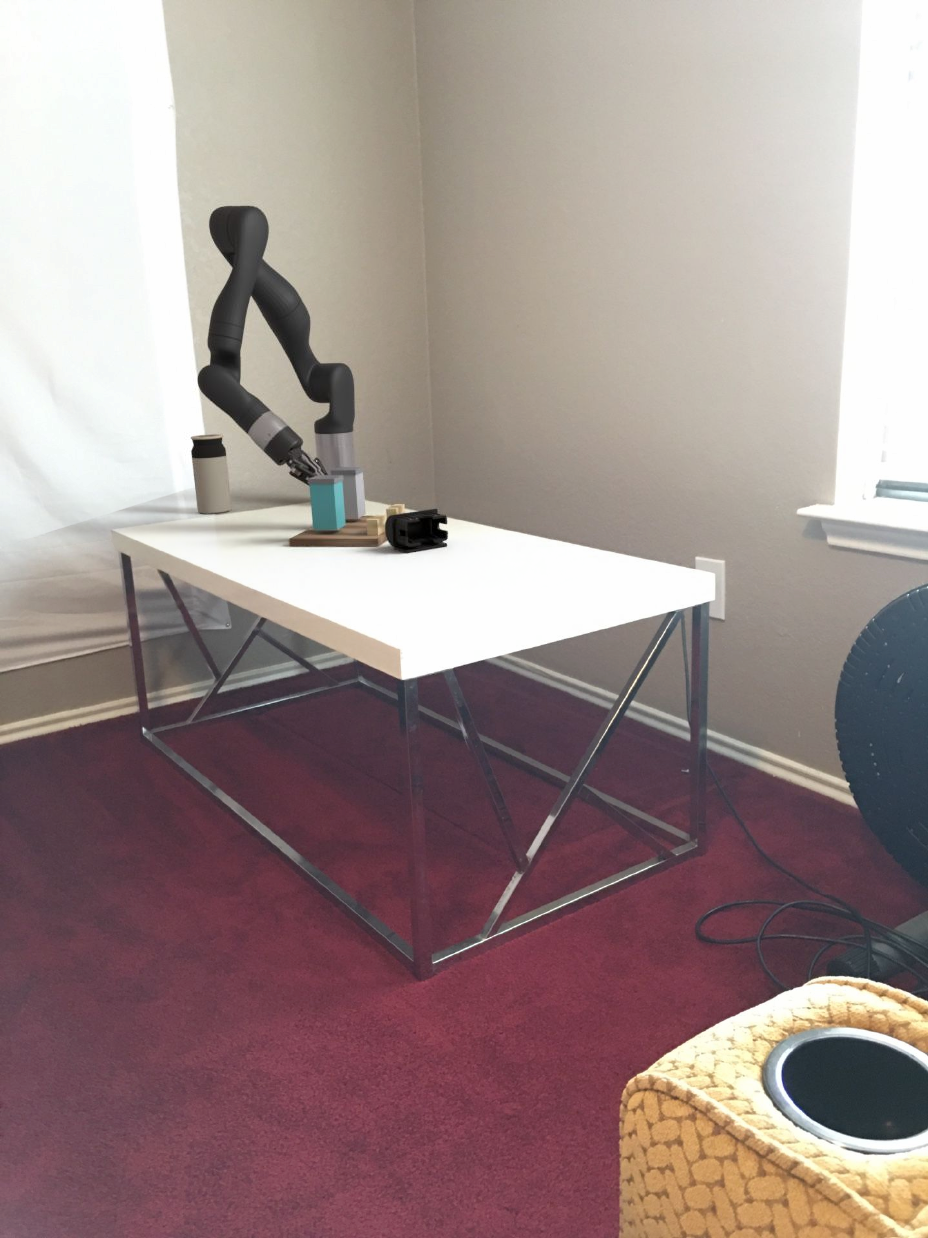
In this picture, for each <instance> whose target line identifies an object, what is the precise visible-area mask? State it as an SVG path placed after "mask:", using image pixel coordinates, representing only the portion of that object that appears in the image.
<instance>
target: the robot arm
mask: <svg viewBox="0 0 928 1238" xmlns="http://www.w3.org/2000/svg"><path fill="white" fill-rule="evenodd" d="M208 227H209V228H208V229H209V233H210V237H211V239H212V241H213V243H214V245H215V247H216V248H217V249H218V251H219V252H220V253H221V255H222V256H223V258H224V259H225V261H226V262H227V263H228V264H229V266H230V267H231V268H232V269H231V271H230V274H229V276H228V278H227V280H226V283H225V285H224V286H223V288H222V290H221V291H220V293H219V294H218V296H217V298H216V300H215V302H214V305H213V308H212V310H211V314H210V319H209V326H208V334H207V348H208V350H209V352H210V353H209V354H210V358H209V364H208V365H205V366H204V367H202V368H201V369H200V371H198V374H197V378H196V379H197V386H198V388H199V391H200V392H201V393H202V394H203V396H205V398H206V399H208V401H210V402H212V404H214V406H216V407H217V408H218V409H220V410H221V411H222V412H223V413H225V414H227V416H229V418H231V419H232V420H233V421H234V423H235V424H236V425H237V426H238V427H239V428H240V429H241V430H242V431H243V432H244V433H246V435H248V436H249V438H250V439H251V440H252V442H254V444H255V445H256V446H257V447H258V448H259V449H260V450H261V451H262V452H264V453H265V455H266V456H267V457H269V458H270V459H271V460H272V461H273V462H274V464H276V465H277V466H279V467H281V466H284V465H287V467H288V468H290V469H289V470H290V471H288V473H289V476H291V477H293V478H295V479H296V480H298V481H299V482H301V483H304V484H305V485H307V486H309V484H308V479H309V478H312V477H315V476H317V475H331V470H333V469H336V468H338V467H357V462H356V461H357V460H356V450H355V449H356V448H355V434H354V422H355V416H356V411H355V410H356V409H355V407H356V405H355V403H356V401H355V399H356V398H355V379H354V375H353V372H352V370H351V368H350V367H349V365H347V364H346V363H343V362H324V363H322V362H320V361H319V360H318V359H317V357H316V356H315V354H314V352H313V349H312V348H311V346H310V332H311V315H310V313H309V311H308V308H307V306H306V304H305V303H304V301H303V300H302V298H301V296H300V294H299V292H298V291H297V289H296V288H295V287H294V286H293V284H291V282H290V281H288V280H287V279H286V278H285V277H284V276H282V275H281V274H280V273H279V272H278V271H277V270H275V269H274V268H273V267H272V266H270V264H269V263H268V262H267V261H265V259H263V257H264V255H265V251H266V249H267V245H268V241H269V240H268V239H269V234H270V232H269V231H270V226H269V222H268V218H267V216H266V215H265V213H264V212H263V211H262V210H261V208H258V207H257V206H254V205H223V206H220V207H217V208H214V210H213V211H212V212H211V214H210V216H209V221H208ZM251 298H252V300H253V302H254V303H255V305H256V306H257V307H258V309H259V312H260V313H261V314H262V315H261V316H262V317H263V318H264V320H265V321H266V324H267V325H268V326H269V329H270V330H271V331H272V333H273V334H274V336H275V337H276V339H277V341H278V343H279V344H280V346H281V348H282V350H283V352H284V353H285V355H286V356H287V358H288V361H289V362H290V364H291V366H292V369H293V371H294V373H295V374H296V377H297V379H298V381H299V384H300V386H301V388H302V390H303V392H304V393H305V395H306V396H307V398H308V399H309V400H310V401H312V402H314V403H317V404H329V405H328V407H329V408H328V412H327V413H326V414H325V415H324V416H323V417H321V418H318V419H316V420H315V421H314V423H313V424H314V425H313V429H314V441H315V442H314V443H315V451H316V453H315V454H316V457H315V458H314V459H313V457H312V455H311V454H309V453H308V452H306V451H304V450H303V449H302V446H303V444H304V440H303V438H302V437H300V435H299V434H298V433H297V432H296V431H294V430H293V429H292V428H291V426H289V424H288V423H286V422H285V421H284V420H283V418H281V417H280V416H279V415H277V414H276V413H274V412H273V411H272V410H271V409H270V408H269V407H268V406H267V405H266V404H265V403H264V402H263V401H262V400H261V399H259V398H258V397H256V395H254V394H252V393H251V392H249V391H248V390H247V389H246V388H245V387H244V386H243V385H242V384H241V379H242V378H241V375H242V374H241V373H242V372H241V371H242V370H241V369H242V361H241V360H242V357H241V349H242V345H243V340H244V333H245V327H246V319H247V315H248V314H247V313H248V308H249V305H250V300H251ZM309 487H310V486H309Z"/></svg>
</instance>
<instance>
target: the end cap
mask: <svg viewBox="0 0 928 1238" xmlns="http://www.w3.org/2000/svg"><path fill="white" fill-rule="evenodd" d="M440 524H442V525H448V516H447V515H446V514H441V513H438V508H431V509H424V510H418V511H417V510H416V511H410V512H405V513H402V514H395V515H390V516H389V517H388V518H387V520H386V523H385V533H386V537H387V542H388V544H389V545H390V546H391V547H393V549H394V550H395V551H397V552H400V553H405V554H412V553H418V552H423V551H430V550H436V549H441V548H447V547H448V543H447V542H445V541H447V540H448V539H449V531H448V530H446V529H442V528H440Z"/></svg>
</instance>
